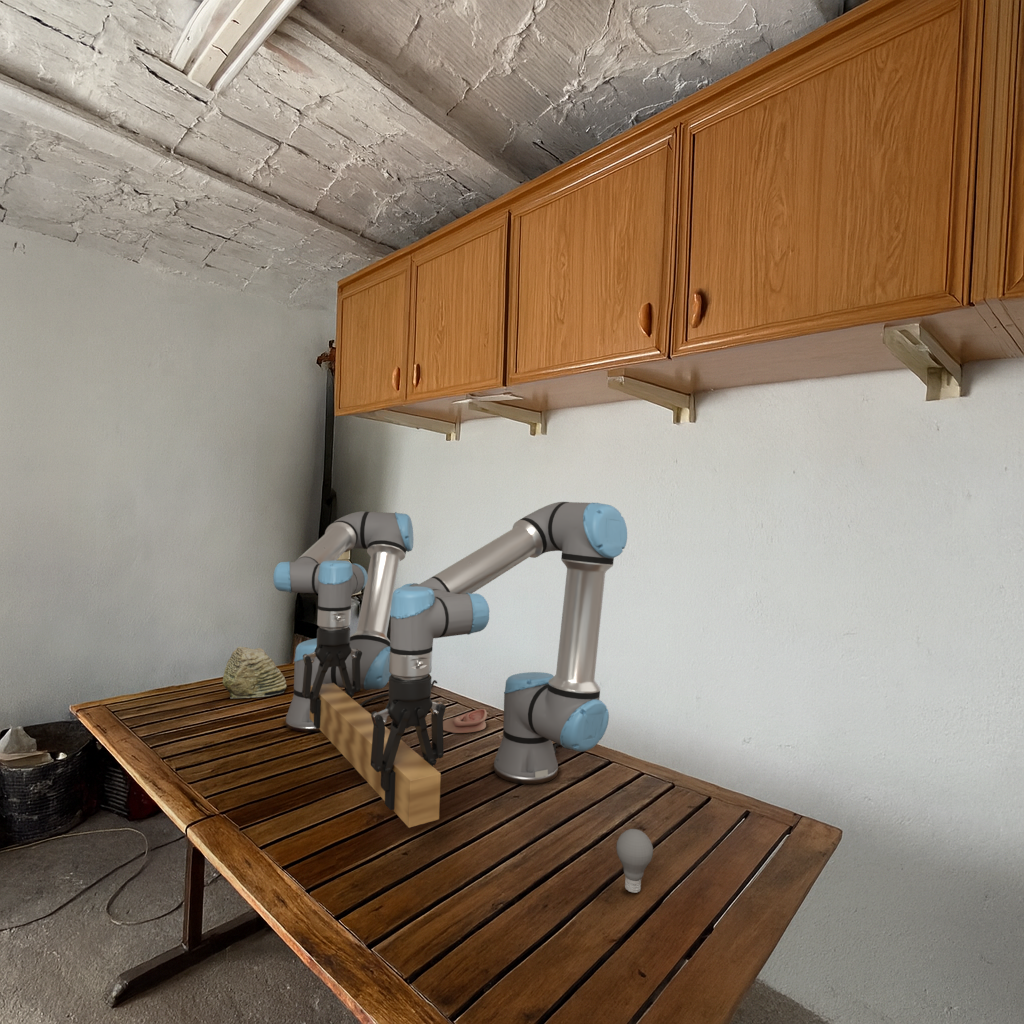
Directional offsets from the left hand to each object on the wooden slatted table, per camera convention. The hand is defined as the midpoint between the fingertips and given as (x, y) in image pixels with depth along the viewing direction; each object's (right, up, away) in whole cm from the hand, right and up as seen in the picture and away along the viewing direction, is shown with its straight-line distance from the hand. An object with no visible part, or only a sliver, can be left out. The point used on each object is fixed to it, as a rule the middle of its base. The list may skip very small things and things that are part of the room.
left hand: (330, 723), depth 150 cm
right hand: (+24, -2, -36) cm, 43 cm away
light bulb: (+63, -13, -44) cm, 78 cm away
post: (+12, -2, -18) cm, 22 cm away
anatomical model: (+29, -10, +29) cm, 42 cm away
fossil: (-38, -7, +48) cm, 62 cm away
